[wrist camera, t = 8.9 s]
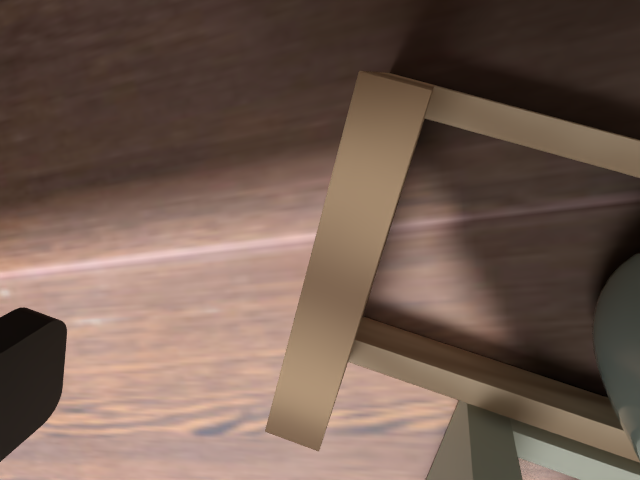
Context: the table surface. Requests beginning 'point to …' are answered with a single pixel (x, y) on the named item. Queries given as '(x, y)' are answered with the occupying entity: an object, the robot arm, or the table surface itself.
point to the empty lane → (517, 451)
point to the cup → (621, 345)
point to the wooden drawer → (365, 253)
